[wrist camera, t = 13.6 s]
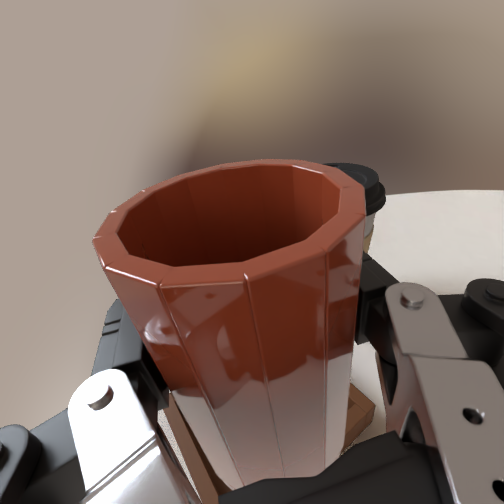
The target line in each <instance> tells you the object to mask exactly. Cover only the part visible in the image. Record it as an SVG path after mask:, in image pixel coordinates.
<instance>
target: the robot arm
mask: <svg viewBox="0 0 504 504" xmlns="http://www.w3.org/2000/svg"><path fill="white" fill-rule="evenodd" d="M104 324H105V326H104V327H103V331H102V337H101V339H100V343H99V346H98V350H97V354H96V358H95V362H94V366H93V370H92V374H91V377H90V378H89V379H87V380H86V381H85V382H84V383H83V384H82V385H81V386H80V387H79V388H78V389H77V390H76V392H75V393H74V395H73V396H72V398H71V400H70V403H69V406H68V408H66V409H65V410H64V411H62V412H61V413H59V414H57V415H56V416H54V417H52V418H51V419H49V420H47V421H45V422H44V423H42V424H40V425H39V426H37V427H35V428H34V429H32V430H30V431H28V430H27V429H26V428H25V427H23V426H21V425H17V424H14V425H8V426H4V427H2V428H0V504H202V502H201V501H200V499H199V497H198V495H197V494H196V492H195V490H194V489H193V487H192V485H191V483H190V482H189V480H188V478H187V476H186V474H185V472H184V470H183V468H182V466H181V464H180V462H179V461H178V459H177V457H176V455H175V453H174V451H173V449H172V447H171V445H170V443H169V441H168V439H167V438H166V436H165V434H164V432H163V430H162V428H161V426H160V425H159V424H158V422H157V418H158V410H161V409H164V408H168V407H169V388H168V386H167V384H166V382H165V381H164V379H163V377H162V375H161V373H160V372H159V370H158V368H157V366H156V364H155V363H154V361H153V359H152V357H151V355H150V354H149V352H148V350H147V348H146V346H145V345H144V343H143V341H142V339H141V337H140V336H139V334H138V332H137V330H136V328H135V327H134V325H133V323H132V321H131V319H130V318H129V316H128V314H127V312H126V310H125V309H124V307H123V305H122V303H121V301H120V300H119V299H116V301H115V302H114V303H113V305H112V306H111V307H110V309H109V310H108V311H107V315H106V319H105V323H104ZM354 340H355V342H356V343H357V345H359V344H362V343H366V342H370V343H371V344H372V346H373V347H374V348H375V358H376V363H377V369H378V374H379V379H380V384H381V390H382V395H383V400H384V405H385V411H386V433H385V434H382V435H379V436H377V437H374V438H371V439H369V440H366V441H363V442H361V443H358V444H355V445H354V446H352V447H351V448H350V449H349V450H348V451H346V452H345V453H344V454H343V455H341V456H340V457H339V458H338V459H337V460H335V461H334V462H333V463H332V464H331V465H329V466H328V467H327V468H326V469H325V470H323V471H322V472H321V473H320V474H318V475H316V476H313V477H293V478H268V479H262V480H259V481H257V482H254V483H251V484H249V485H246V486H243V487H241V488H238V489H235V490H233V491H230V492H227V493H225V494H222V495H219V496H218V502H219V504H504V281H500V280H496V279H486V278H483V279H476V280H473V281H471V282H470V283H469V284H468V285H467V288H466V290H465V293H464V294H455V295H436V294H435V293H434V292H433V291H432V290H430V289H428V288H426V287H424V286H422V285H419V284H415V283H407V282H403V283H400V282H399V281H398V280H396V279H395V278H394V277H393V276H392V275H391V274H390V273H389V272H387V271H386V270H385V269H384V268H383V267H382V266H381V265H379V264H378V263H377V262H376V261H375V260H374V259H373V260H372V257H370V256H369V255H368V254H367V253H365V251H364V250H363V254H362V264H361V275H360V285H359V295H358V305H357V316H356V326H355V336H354Z"/></svg>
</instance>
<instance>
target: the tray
mask: <svg viewBox="0 0 504 504" xmlns="http://www.w3.org/2000/svg"><path fill="white" fill-rule="evenodd" d="M163 410H164V413H165V415H166V417H167V420H168V422H169V425H170V427H171V429H172V432H173V434H174V436H175V439H176V441H177V444H178V446H179V448H180V451H181V453H182V456H183V458H184V460H185V463H186V465H187V467H188V470H189V472H190V475H191V477H192V479H193V482H194V484H195V487H196V489H197V491H198V494H199V496H200V498H201V501H202V503H203V504H219V502H218V496H219V495H222V494H225V493H227V492H230V491H233V490H231V489H230V488H229V487H228V486H227V485H226V484H225V483H224V482H223V480H222V479H221V478H219V477H218V475H217V474H216V473H215V471H214V469H213V467H212V465H211V464H210V462H209V460H208V458H207V456H206V455H205V453H204V451H203V449H202V447H201V446H200V444H199V442H198V440H197V438H196V437H195V435H194V433H193V431H192V429H191V428H190V426H189V424H188V422H187V420H186V419H185V417H184V415H183V413H182V411H181V410H180V408H179V406H178V404H177V402H176V400H175V399H174V397H173V395H172V393H169V407H168V408H164V409H163ZM374 410H375V404H374V403H373V402H372V401H370V400H369V399H368V398H367V397H366V396H365V395H364V394H363V393H361V392H360V391H359V390H358V389H357V388H356V387H355V386H354V385H353V384H351V383H350V387H349V397H348V408H347V418H346V428H345V438H344V445H343V448H342V450H341V453H342V452H343V451H344V450H345V449H346V448H347V447H348V446H349V445H350V444H351V443H352V442H353V441H354V440H355V439H356V437H357V436H358V435H359V434H360V433H361V432H362V431H363V430H364V429H365V428H366V427H367V426H368V425H369V424H370V423H371V422H372V419H373V414H374ZM341 453H340V454H341Z"/></svg>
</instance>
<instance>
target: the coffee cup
mask: <svg viewBox="0 0 504 504" xmlns="http://www.w3.org/2000/svg"><path fill="white" fill-rule="evenodd" d="M322 165H326V166H331V167H335V168H338V169H340V170H342V171H343V172H344V173H346V174H347V175H349V176H350V177H352V178H353V179H354V180H356V181H357V182H359V183H360V184H362V185H363V187H364V188H365V202H366V224H365V234H364V244H363V250H364V251H365V253H368V249H369V245H370V241H371V237H372V233H373V228H374V225H373V222H374V218H375V214H376V212H377V211H378V210H380V209H381V208H382V207H383V206H384V204H385V202H386V197H385V188H384V186H383V185H382V184H381V183H380V182H379V177H378V174H377V173H376V172H375V171H374V170H373V169H371V168H368V167H365V166H362V165H357V164H350V163H327V164H322Z"/></svg>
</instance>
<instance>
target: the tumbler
mask: <svg viewBox="0 0 504 504" xmlns="http://www.w3.org/2000/svg"><path fill="white" fill-rule="evenodd" d="M365 224H366V202H365V188H364V187H363V185H362V184H360V183H359V182H357V181H356V180H354V179H353V178H352V177H350V176H349V175H347V174H346V173H344V172H343V171H342V170H340V169H338V168H335V167H331V166H326V165H322V164H318V163H313V162H309V161H304V160H279V159H262V160H261V159H259V160H251V161H243V162H235V163H227V164H221V165H216V166H212V167H208V168H204V169H200V170H196V171H192V172H189V173H184V174H181V175H178V176H175V177H173V178H170V179H168V180H166V181H163V182H161V183H158V184H156V185H154V186H151V187H149V188H146V189H144V190H142V191H141V192H139V193H138V194H136V195H135V196H133V197H132V198H130V199H129V200H127V201H126V202H124V203H123V204H121V205H120V206H118V207H117V208H115V209H114V210H113V211H111V212H110V213H109V214H108V215H107V217H106V219H105V220H104V222H103V223H102V225H101V226H100V228H99V229H98V231H97V233H96V234H95V236H94V237H93V240H92V243H93V246H94V249H95V251H96V253H97V256H98V258H99V261H100V264H101V266H102V269H103V271H104V272H105V274H106V276H107V278H108V280H109V281H110V283H111V285H112V287H113V289H114V290H115V292H116V294H117V296H118V298H119V300H120V301H121V303H122V305H123V307H124V309H125V310H126V312H127V314H128V316H129V318H130V319H131V321H132V323H133V325H134V327H135V328H136V330H137V332H138V334H139V336H140V337H141V339H142V341H143V343H144V345H145V346H146V348H147V350H148V352H149V354H150V355H151V357H152V359H153V361H154V363H155V364H156V366H157V368H158V370H159V372H160V373H161V375H162V377H163V379H164V381H165V382H166V384H167V386H168V388H169V390H170V391H171V393H172V395H173V397H174V399H175V400H176V402H177V404H178V406H179V408H180V410H181V411H182V413H183V415H184V417H185V419H186V420H187V422H188V424H189V426H190V428H191V429H192V431H193V433H194V435H195V437H196V438H197V440H198V442H199V444H200V446H201V447H202V449H203V451H204V453H205V455H206V456H207V458H208V460H209V462H210V464H211V465H212V467H213V469H214V471H215V473H216V474H217V475H218V477H219V478H221V479H222V480H223V482H224V483H225V484H226V485H227V486H228V487H229V488H230V489H231V490H235V489H238V488H241V487H243V486H246V485H249V484H251V483H254V482H257V481H259V480H262V479H268V478H293V477H313V476H316V475H318V474H320V473H321V472H322V471H323V470H325V469H326V468H327V467H328V466H329V465H331V464H332V463H333V462H334V461H335V460H337V459H338V458H339V457H340V453H341V450H342V448H343V445H344V438H345V428H346V418H347V408H348V397H349V387H350V377H351V367H352V357H353V346H354V336H355V326H356V316H357V305H358V295H359V285H360V275H361V264H362V254H363V244H364V234H365Z"/></svg>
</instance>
